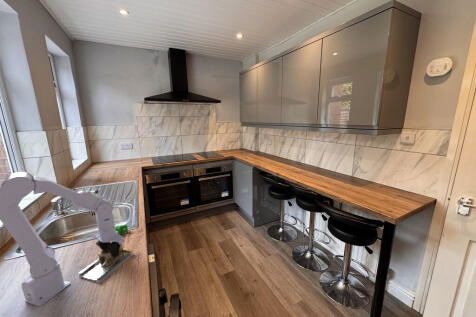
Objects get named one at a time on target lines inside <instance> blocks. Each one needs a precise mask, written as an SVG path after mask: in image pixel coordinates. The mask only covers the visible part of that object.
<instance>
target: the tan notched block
mask: <svg viewBox="0 0 476 317" xmlns="http://www.w3.org/2000/svg"><path fill="white" fill-rule="evenodd" d="M123 248H124V246H123V243H122V244H121V245H120V249H119V255H118V256H117V257H115V258H114V257H113V256H112V252H111V250H110V249H109V248H108V247H107V248H106V249H104V250H103V251H102V250H101V251H100V252H99V253H98V254H97V256H98V259H99V261H100V264H101V265H102V264H103V263H106V266H108V265H110V264H111V263H112V262H113V261H115V260H116V259H117V258H118V257H120V256H121V255H122V254H123V253H124V251H123Z"/></svg>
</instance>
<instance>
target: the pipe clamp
mask: <svg viewBox="0 0 476 317" xmlns="http://www.w3.org/2000/svg"><path fill="white" fill-rule="evenodd" d="M115 229H116V231H118V233H117V234H119V235H120V236H121V237H122V234H121V233H123V234H126V233H125V232H128V233H129V229H128V224H127V223H126V224H122V225H117V226H116V225H115Z"/></svg>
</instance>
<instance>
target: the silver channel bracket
mask: <svg viewBox="0 0 476 317" xmlns="http://www.w3.org/2000/svg"><path fill="white" fill-rule="evenodd" d="M123 251H124V253H123V254H122V255H121V256H120V257H118V258H117V259H116V260H115V261H113V262H112V263H111V264H110V265H108V266H106V263H103V264H102V265H101V264H100V261H99V258H97V259H96V260H94V261H93V262H91V263H90V264H89V265H87V266H86V267H85V268H83V269H82V270H80V271H79V272H78V273H77V274H78V278H80V279H84V280H86V281H87V280H88V281H89V282H90V281H91V282H94V283H97V284H101V283H102V282H103V281H104V280H106V278H107V277H110V276H111V274H113V273H114V272H115V271H116V270H117V269H118V268H120V267H121V266H122V265H123V264H124V263H125V262H126V261H128V260H129V259H130V258H131V257H132V256H134V252H133V249H131V248H127V247H126V248H125V247H123Z"/></svg>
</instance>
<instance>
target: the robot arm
mask: <svg viewBox="0 0 476 317" xmlns="http://www.w3.org/2000/svg"><path fill="white" fill-rule="evenodd" d="M32 192H33V195H39V194H43V193H47V194H51V195H54V196H57V197H60V198H63V199H66V200H69V201H71V203H72V206H76V207H79V208H81V209H85V210H87V211H90V212H95V215H96V216H95V217H96V219H95V220H96V224H97V230H98V232H96V233H95V234H94V235H93V238H94V239H93V240H98V241H97V242H95V244H96V246H97V247H98V248H99V249H101V251H103V250H104V249H106V248H107V247H108V248H109V249H110V250H111V252H112V256H113V257H114V258H115V257H117V256H118V255H119V249H120V245H121V244H122V245H123V243H125V237H124V236H122V235H121V236H120V235H119V234H117V233H118V231H116V229H115V227H116V224H115V218H114V214H113V210H114V206H113V204H112V203H111V202H110V201H109V200H108V199H107V198H106V197H103V196H101V195H100V196H97V195H95V194H93V193H92V191H90V190H86V191H85V190H80V191H79V190H78V191H75V190H73V189H71V188H68V187H66V186H63V185H62V184H59V183H58V182H55V181H52V180H50V179H48V178H45V177H42V176H40V175H36V174H34V175H33V174H32V173H29V172H26V171H17V172H13V173H11V174H10V175H8V176H7V177H6V178H5V179H4V181H3V182H2V183H1V185H0V222H1V223H2V225H3V226H4V228H5V229H6V230H7V231H8V233H9V234H10V235H11V237H12V238H13V240H14V241H15V242H16V244H17V245H18V246H19V248H20V250H22V252H23V254H24V255H25V258H26V261H27V263H28V265H29V274H30V275H29V277H27V279H25V280H24V281H23V282H22V283H21V285H20V286H21V289H22V293H23V295H24V302H26V303H29V304H31V305H34V306H36V307H41V306H43V305H44V304H46V303H47V302H48V301H49V300H51V299H53V298H54V297H55V296H56V295H57V294H59V293H61V291H63V290H64V289H66V288H67V287H68V286H70V285H71V282H70V281H68V280H64V277H63V276H64V275H63V274H62V269H61V265H60V262H59V261H58V260H57V259H56V256H55V254H56V250H55V249H54V248H53V247H52V246H50V245H48V244H47V243H46V241H43V239H41V237H40V236H39V234H38V232H37V230H36V229H35V228H34V226H33V224H32V223H31V222H30V221H29V219H28V217H27V216H26V214H25V213H24V211H23V210H22V208H21V206H20V205H19V204H20V203H21V201H22V200H23V199H24V198H25V197H27V196H28V195H30V194H31V193H32Z"/></svg>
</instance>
